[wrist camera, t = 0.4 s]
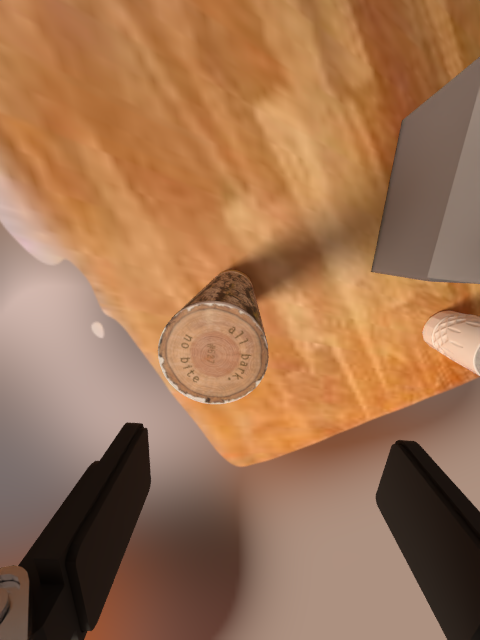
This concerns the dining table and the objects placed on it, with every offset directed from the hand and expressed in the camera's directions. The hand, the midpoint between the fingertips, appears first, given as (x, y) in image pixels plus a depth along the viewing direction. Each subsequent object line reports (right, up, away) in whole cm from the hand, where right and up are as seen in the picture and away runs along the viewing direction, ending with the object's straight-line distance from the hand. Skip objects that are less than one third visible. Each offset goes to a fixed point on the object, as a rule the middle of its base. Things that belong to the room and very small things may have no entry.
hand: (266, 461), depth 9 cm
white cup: (+33, +4, +31) cm, 46 cm away
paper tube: (-2, +10, +29) cm, 31 cm away
